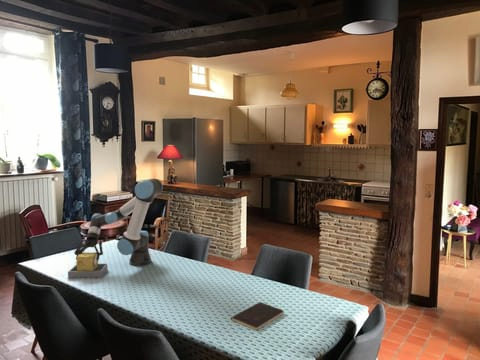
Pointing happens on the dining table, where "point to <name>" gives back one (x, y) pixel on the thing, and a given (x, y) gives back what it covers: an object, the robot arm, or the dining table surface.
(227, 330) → the dining table surface
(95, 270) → the bin
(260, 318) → the hardcover book
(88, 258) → the cheese
